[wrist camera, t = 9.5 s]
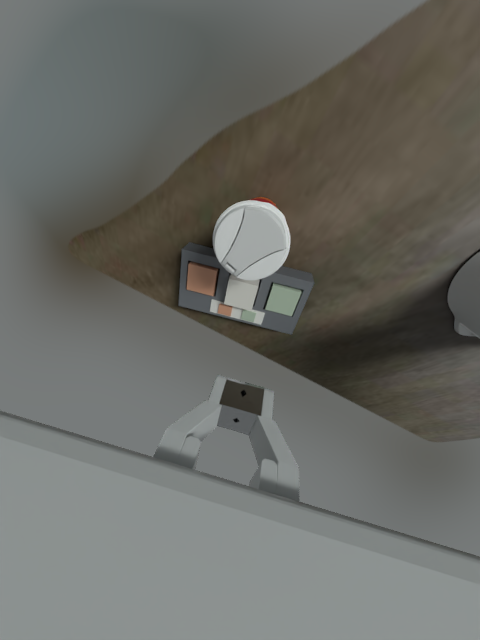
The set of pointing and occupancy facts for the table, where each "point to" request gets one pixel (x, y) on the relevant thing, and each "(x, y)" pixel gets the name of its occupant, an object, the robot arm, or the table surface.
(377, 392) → the table surface
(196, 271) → the key terracotta
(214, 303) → the keypad housing
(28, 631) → the robot arm
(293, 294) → the key sage
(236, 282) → the key white
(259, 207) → the paper cup
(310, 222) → the table surface
